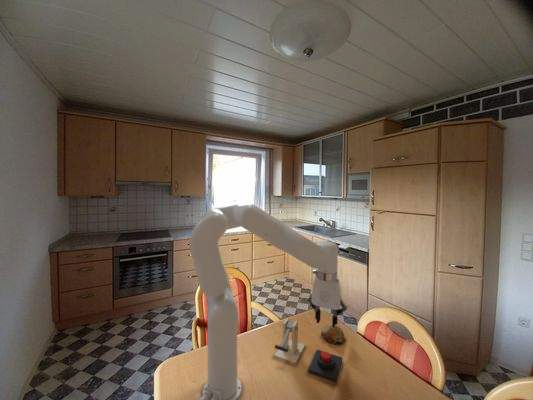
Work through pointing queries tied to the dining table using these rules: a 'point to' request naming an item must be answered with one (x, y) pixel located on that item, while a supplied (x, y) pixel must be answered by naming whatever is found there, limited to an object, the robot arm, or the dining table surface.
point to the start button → (325, 357)
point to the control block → (326, 367)
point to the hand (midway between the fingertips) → (326, 322)
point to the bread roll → (332, 334)
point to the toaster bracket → (291, 344)
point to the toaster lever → (285, 337)
